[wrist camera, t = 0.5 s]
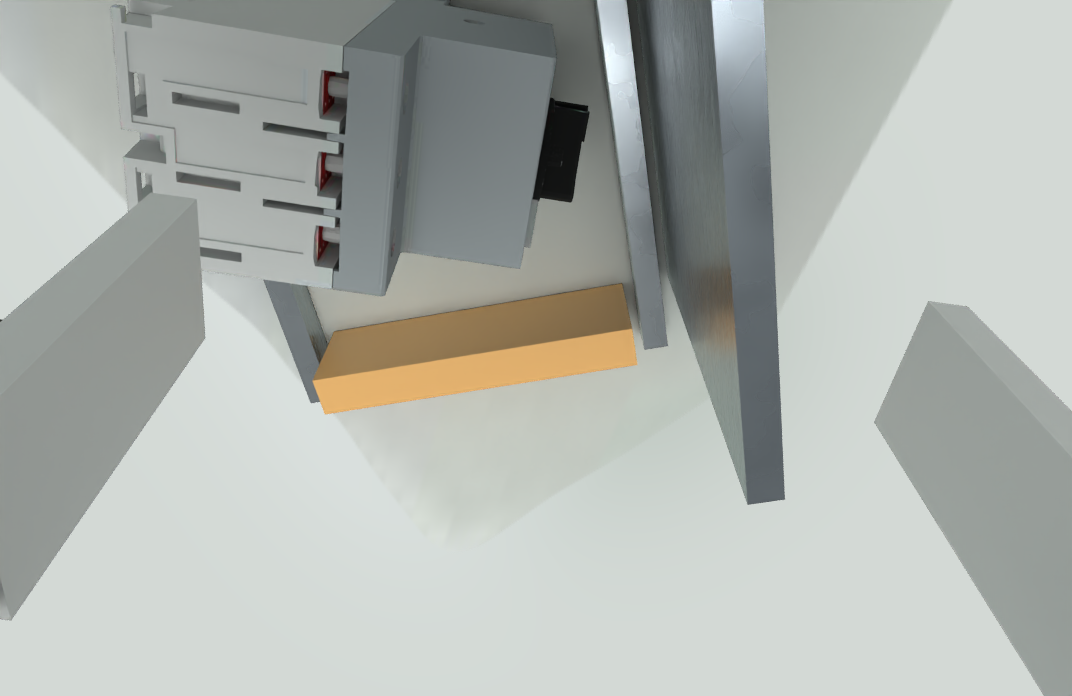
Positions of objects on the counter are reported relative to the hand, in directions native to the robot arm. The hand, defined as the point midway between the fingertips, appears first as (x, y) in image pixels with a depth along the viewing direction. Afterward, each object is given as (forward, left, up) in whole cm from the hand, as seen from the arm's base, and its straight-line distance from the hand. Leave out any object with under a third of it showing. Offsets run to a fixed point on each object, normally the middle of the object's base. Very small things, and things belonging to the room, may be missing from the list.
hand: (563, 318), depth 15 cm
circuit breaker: (0, -6, -26) cm, 26 cm away
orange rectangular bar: (+13, -6, -25) cm, 29 cm away
